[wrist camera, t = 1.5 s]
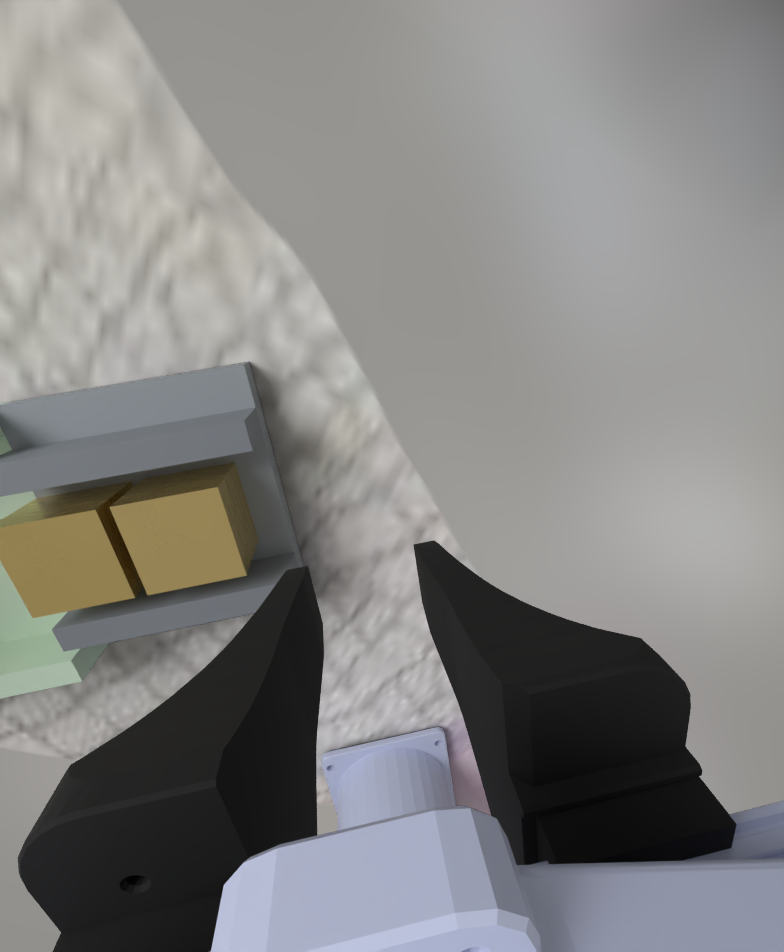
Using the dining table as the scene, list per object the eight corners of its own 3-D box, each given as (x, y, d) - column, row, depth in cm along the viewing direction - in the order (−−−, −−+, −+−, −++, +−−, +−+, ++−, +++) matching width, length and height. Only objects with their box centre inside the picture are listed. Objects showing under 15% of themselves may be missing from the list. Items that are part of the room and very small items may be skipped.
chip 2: (258, 540, 20) (246, 575, 18) (173, 556, 20) (147, 595, 17) (234, 461, 19) (217, 487, 16) (142, 478, 19) (109, 507, 16)
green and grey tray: (309, 588, 23) (305, 635, 20) (-92, 669, 22) (-172, 736, 18) (249, 361, 19) (230, 371, 15) (-257, 446, 17) (-401, 478, 14)
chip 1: (162, 558, 20) (135, 597, 17) (75, 576, 20) (32, 618, 17) (131, 481, 19) (95, 509, 16) (36, 498, 18) (-18, 530, 16)
